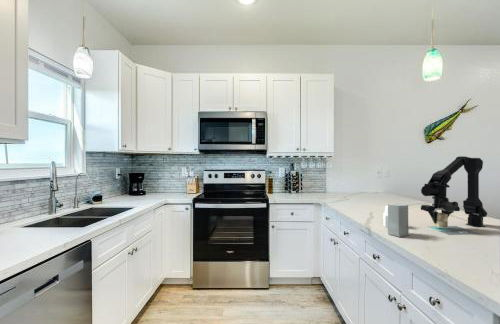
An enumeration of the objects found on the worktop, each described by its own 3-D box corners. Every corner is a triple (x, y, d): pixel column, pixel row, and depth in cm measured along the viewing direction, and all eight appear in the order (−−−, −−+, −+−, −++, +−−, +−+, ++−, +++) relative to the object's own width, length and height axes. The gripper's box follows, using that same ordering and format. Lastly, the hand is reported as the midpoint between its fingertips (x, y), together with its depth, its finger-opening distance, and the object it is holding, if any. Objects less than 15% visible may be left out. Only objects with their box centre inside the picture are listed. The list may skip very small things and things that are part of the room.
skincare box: (399, 237, 133) (399, 206, 133) (386, 234, 140) (386, 203, 139) (409, 235, 137) (410, 204, 137) (396, 231, 144) (396, 202, 143)
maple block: (440, 224, 152) (440, 212, 152) (447, 227, 147) (447, 214, 147) (432, 224, 152) (432, 212, 151) (438, 227, 147) (439, 214, 146)
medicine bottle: (396, 225, 157) (396, 205, 157) (399, 228, 150) (399, 207, 150) (383, 224, 159) (383, 204, 159) (385, 227, 153) (385, 206, 152)
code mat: (455, 226, 155) (455, 226, 155) (482, 234, 139) (482, 234, 139) (426, 226, 154) (426, 226, 154) (449, 235, 138) (449, 234, 138)
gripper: (434, 197, 140) (434, 227, 141) (468, 197, 141) (468, 226, 142) (420, 194, 151) (419, 222, 152) (451, 194, 153) (451, 221, 153)
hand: (439, 223), depth 149 cm, fingers closed on maple block, 5 cm apart
